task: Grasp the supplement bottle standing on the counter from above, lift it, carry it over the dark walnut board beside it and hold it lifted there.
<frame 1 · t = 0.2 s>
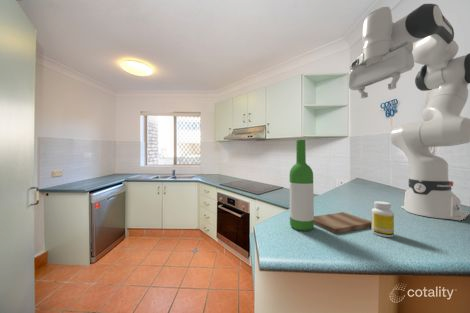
hand: (377, 93, 66), 47 cm above the table, tool pointing down, fingers open, 8 cm apart
walnut board: (339, 223, 65), on the table
wine bottle: (301, 227, 62), on the table
supplement bottle: (382, 234, 56), on the table
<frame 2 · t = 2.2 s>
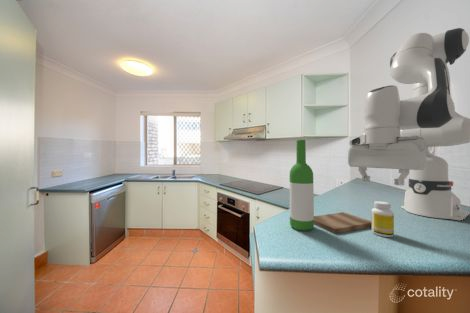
hand: (381, 183, 56), 16 cm above the table, tool pointing down, fingers open, 8 cm apart
nothing on the table moved.
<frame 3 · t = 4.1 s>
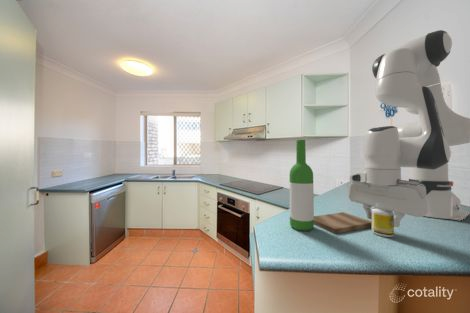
hand: (382, 222, 56), 4 cm above the table, tool pointing down, fingers closed on supplement bottle, 5 cm apart
supplement bottle: (382, 234, 56), on the table, touching gripper
everything else where it was.
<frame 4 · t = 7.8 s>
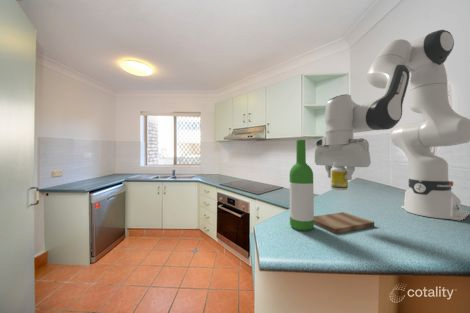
hand: (339, 178, 65), 16 cm above the table, tool pointing down, fingers closed on supplement bottle, 5 cm apart
supplement bottle: (339, 189, 65), point 12 cm above the table, touching gripper
everything else where it was.
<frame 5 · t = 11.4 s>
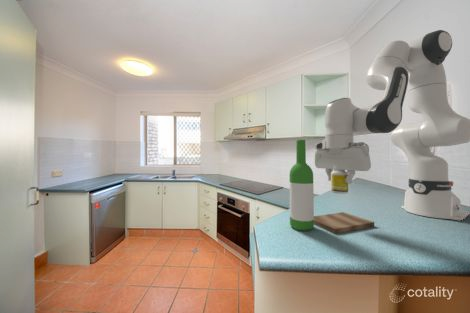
hand: (339, 182, 65), 15 cm above the table, tool pointing down, fingers closed on supplement bottle, 5 cm apart
supplement bottle: (339, 193, 65), point 11 cm above the table, touching gripper
everything else where it was.
at the end: the gripper is holding supplement bottle; supplement bottle point 11.0 cm above the table; supplement bottle 0.1 cm from the walnut board (horizontally) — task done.
